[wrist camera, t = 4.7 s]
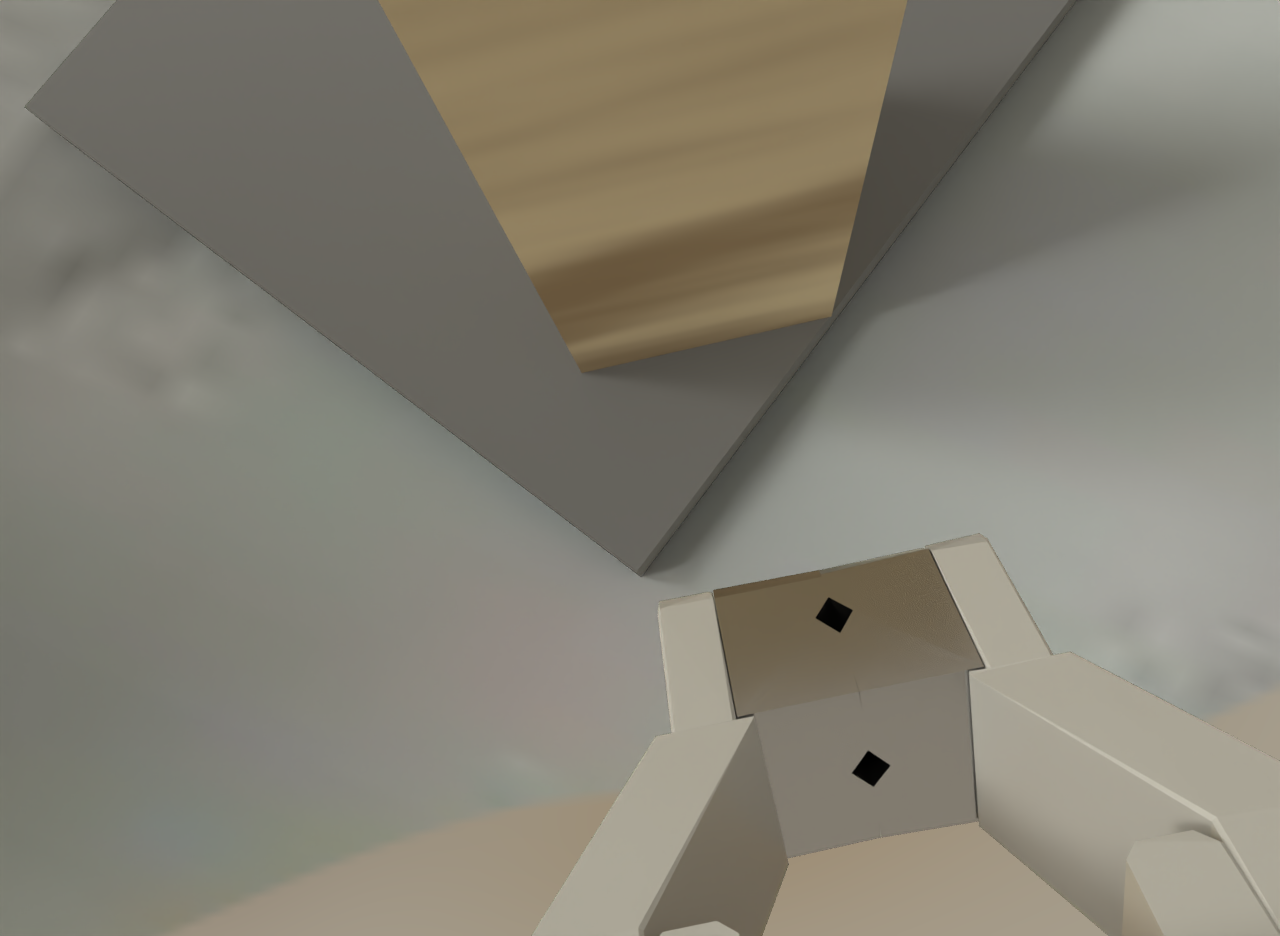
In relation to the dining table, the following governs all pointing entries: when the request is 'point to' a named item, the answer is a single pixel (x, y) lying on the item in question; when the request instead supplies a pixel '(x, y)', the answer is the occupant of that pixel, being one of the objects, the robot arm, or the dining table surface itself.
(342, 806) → the dining table surface
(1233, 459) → the dining table surface
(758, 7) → the maple block
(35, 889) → the dining table surface
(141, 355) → the dining table surface
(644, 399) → the rubber mat
